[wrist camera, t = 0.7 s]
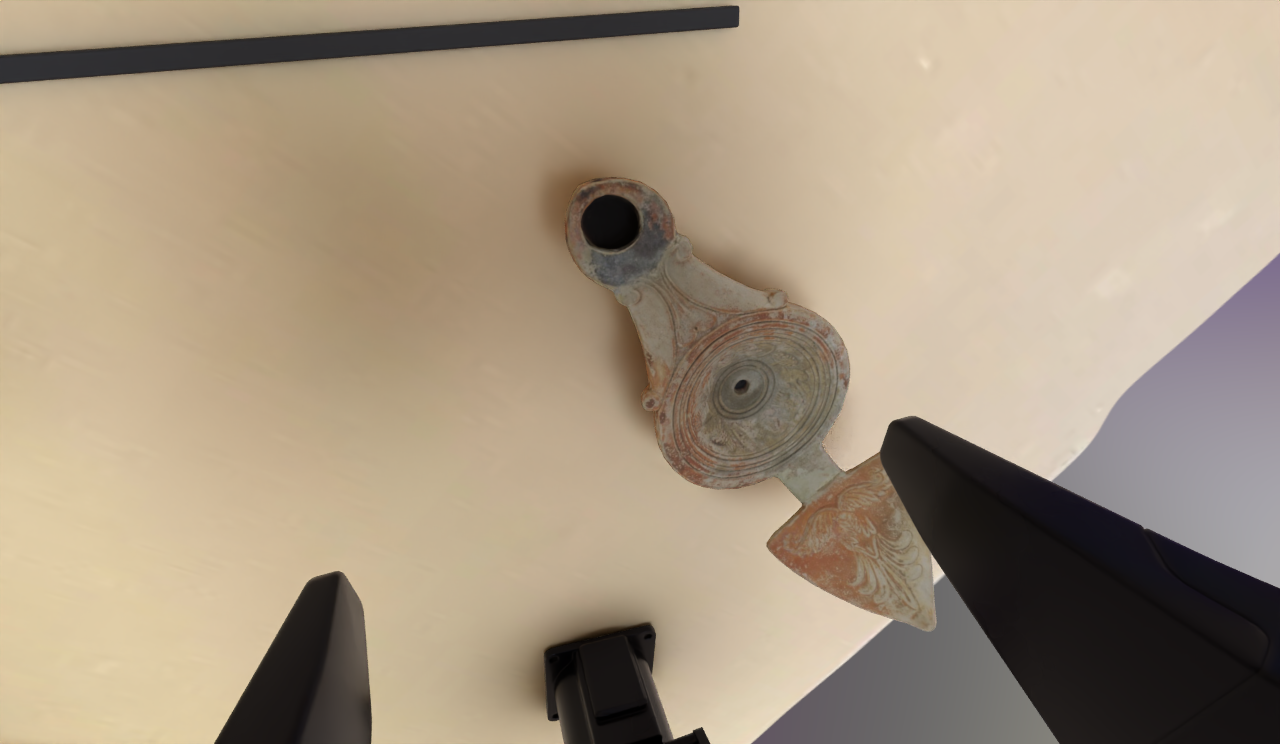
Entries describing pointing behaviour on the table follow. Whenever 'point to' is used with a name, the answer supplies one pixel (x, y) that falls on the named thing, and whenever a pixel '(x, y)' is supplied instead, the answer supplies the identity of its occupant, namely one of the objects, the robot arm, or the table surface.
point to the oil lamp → (751, 399)
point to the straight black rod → (353, 44)
